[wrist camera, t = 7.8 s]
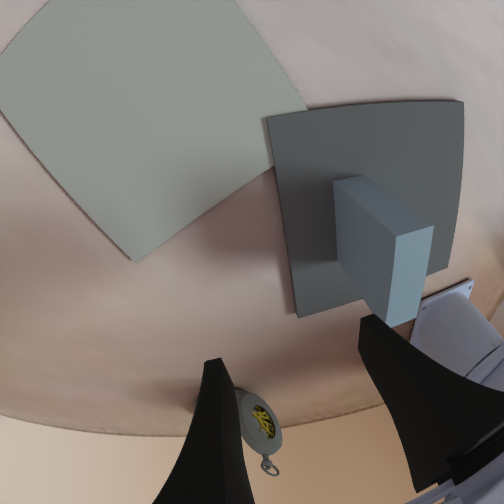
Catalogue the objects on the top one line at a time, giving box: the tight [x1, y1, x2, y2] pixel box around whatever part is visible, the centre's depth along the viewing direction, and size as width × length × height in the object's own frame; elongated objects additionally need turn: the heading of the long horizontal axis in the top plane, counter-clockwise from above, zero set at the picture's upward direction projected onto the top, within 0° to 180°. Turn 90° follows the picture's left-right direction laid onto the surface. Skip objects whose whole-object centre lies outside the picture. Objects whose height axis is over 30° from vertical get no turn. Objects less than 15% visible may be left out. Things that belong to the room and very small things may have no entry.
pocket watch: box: [194, 389, 282, 476], centre depth 25 cm, size 8×8×10 cm
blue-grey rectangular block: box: [333, 175, 434, 328], centre depth 16 cm, size 6×2×7 cm, turn 11°
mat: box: [266, 100, 464, 318], centre depth 20 cm, size 15×15×1 cm
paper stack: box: [0, 0, 309, 263], centre depth 12 cm, size 23×25×1 cm
